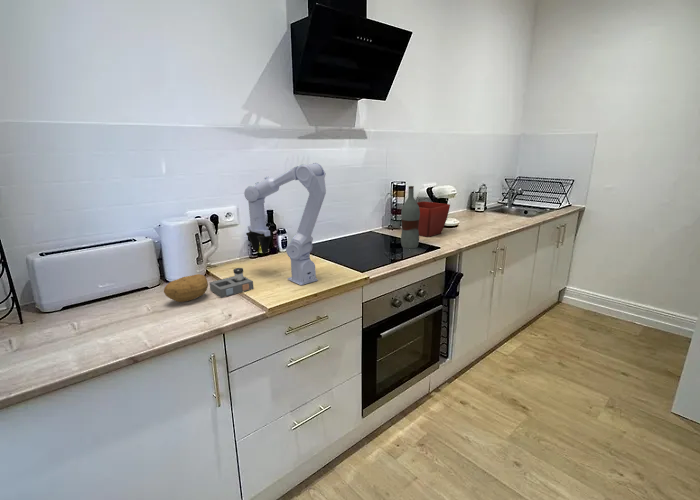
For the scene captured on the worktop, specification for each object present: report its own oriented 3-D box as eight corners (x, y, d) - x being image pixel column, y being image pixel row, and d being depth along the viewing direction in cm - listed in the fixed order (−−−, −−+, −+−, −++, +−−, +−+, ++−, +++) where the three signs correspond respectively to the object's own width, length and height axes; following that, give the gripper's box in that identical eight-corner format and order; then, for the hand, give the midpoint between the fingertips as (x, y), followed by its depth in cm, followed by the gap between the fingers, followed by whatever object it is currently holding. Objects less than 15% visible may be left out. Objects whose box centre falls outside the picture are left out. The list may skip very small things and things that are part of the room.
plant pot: (429, 239, 201) (430, 208, 196) (402, 234, 215) (402, 205, 210) (449, 233, 213) (451, 204, 209) (422, 228, 227) (423, 201, 222)
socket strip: (254, 289, 135) (253, 281, 134) (221, 298, 127) (220, 289, 127) (241, 282, 142) (240, 274, 142) (210, 290, 135) (209, 282, 134)
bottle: (419, 249, 183) (421, 187, 175) (400, 248, 184) (401, 187, 176) (418, 244, 192) (420, 185, 184) (400, 244, 193) (401, 185, 185)
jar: (246, 287, 137) (244, 269, 135) (238, 289, 135) (236, 271, 133) (241, 285, 139) (240, 267, 137) (233, 287, 137) (231, 269, 135)
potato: (161, 302, 125) (157, 279, 123) (203, 290, 134) (200, 269, 132) (172, 310, 118) (168, 287, 116) (214, 298, 128) (211, 276, 125)
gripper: (276, 218, 141) (278, 252, 145) (258, 213, 152) (260, 245, 155) (259, 220, 137) (262, 256, 140) (241, 215, 147) (245, 249, 151)
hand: (260, 251), depth 147 cm, fingers open, 7 cm apart
